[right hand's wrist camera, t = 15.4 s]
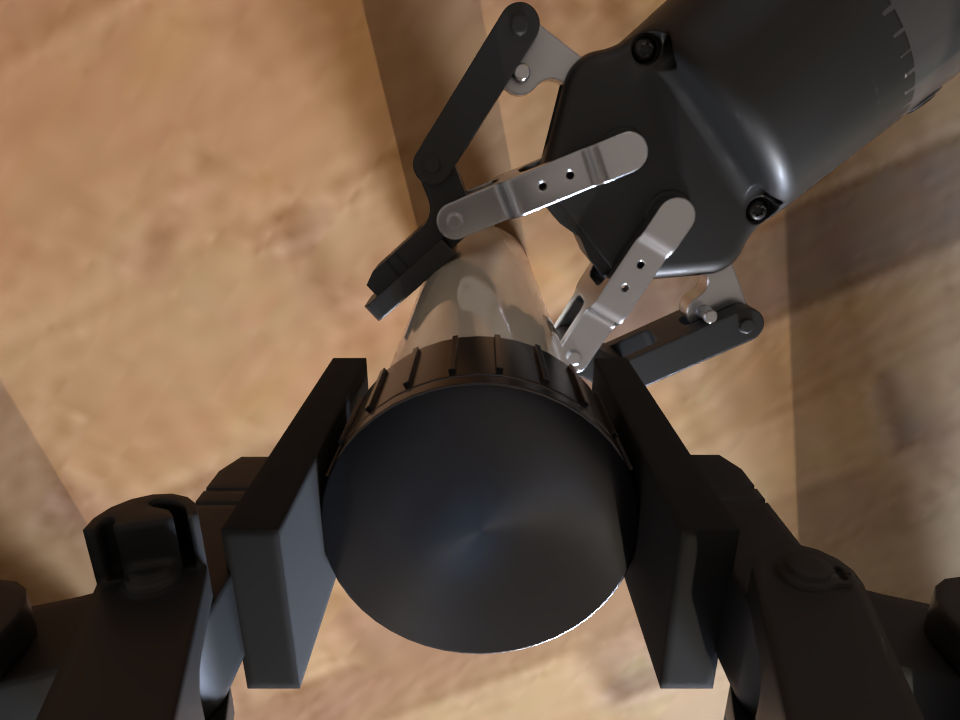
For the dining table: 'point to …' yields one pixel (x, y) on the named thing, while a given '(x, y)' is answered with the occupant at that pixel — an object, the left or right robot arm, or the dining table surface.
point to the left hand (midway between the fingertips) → (425, 358)
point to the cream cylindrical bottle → (482, 298)
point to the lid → (480, 498)
